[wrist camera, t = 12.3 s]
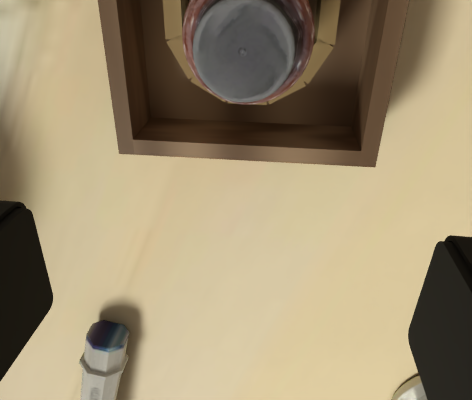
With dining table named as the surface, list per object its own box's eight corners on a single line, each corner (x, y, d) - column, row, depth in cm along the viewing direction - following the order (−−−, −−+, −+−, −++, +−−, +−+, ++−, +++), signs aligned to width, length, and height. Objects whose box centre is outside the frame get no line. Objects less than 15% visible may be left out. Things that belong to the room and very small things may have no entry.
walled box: (413, -154, 21) (446, -182, 17) (361, 136, 30) (375, 167, 25) (112, -153, 23) (72, -179, 18) (141, 126, 31) (119, 153, 26)
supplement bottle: (191, 35, 26) (140, 80, 17) (236, -63, 24) (205, -77, 14) (272, 82, 27) (268, 150, 18) (325, -6, 25) (354, 18, 15)
